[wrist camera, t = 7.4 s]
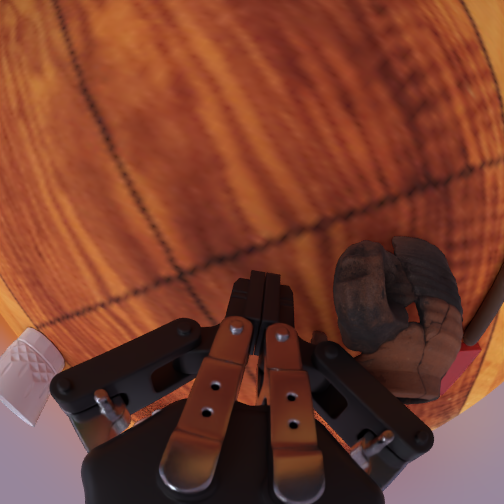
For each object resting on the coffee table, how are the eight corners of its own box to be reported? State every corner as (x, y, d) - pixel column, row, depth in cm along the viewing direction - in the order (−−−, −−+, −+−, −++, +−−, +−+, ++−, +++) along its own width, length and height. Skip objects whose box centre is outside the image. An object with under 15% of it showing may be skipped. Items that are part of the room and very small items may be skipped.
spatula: (506, 199, 11) (520, 208, 9) (541, 220, 11) (553, 230, 9) (396, 391, 20) (399, 405, 19) (439, 388, 20) (443, 399, 19)
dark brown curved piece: (462, 288, 15) (460, 403, 11) (354, 305, 21) (337, 402, 17) (428, 157, 9) (455, 375, 5) (262, 217, 15) (213, 362, 11)
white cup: (30, 315, 21) (-18, 376, 13) (77, 364, 24) (40, 429, 15) (18, 331, 24) (-19, 381, 15) (58, 372, 27) (27, 425, 18)
